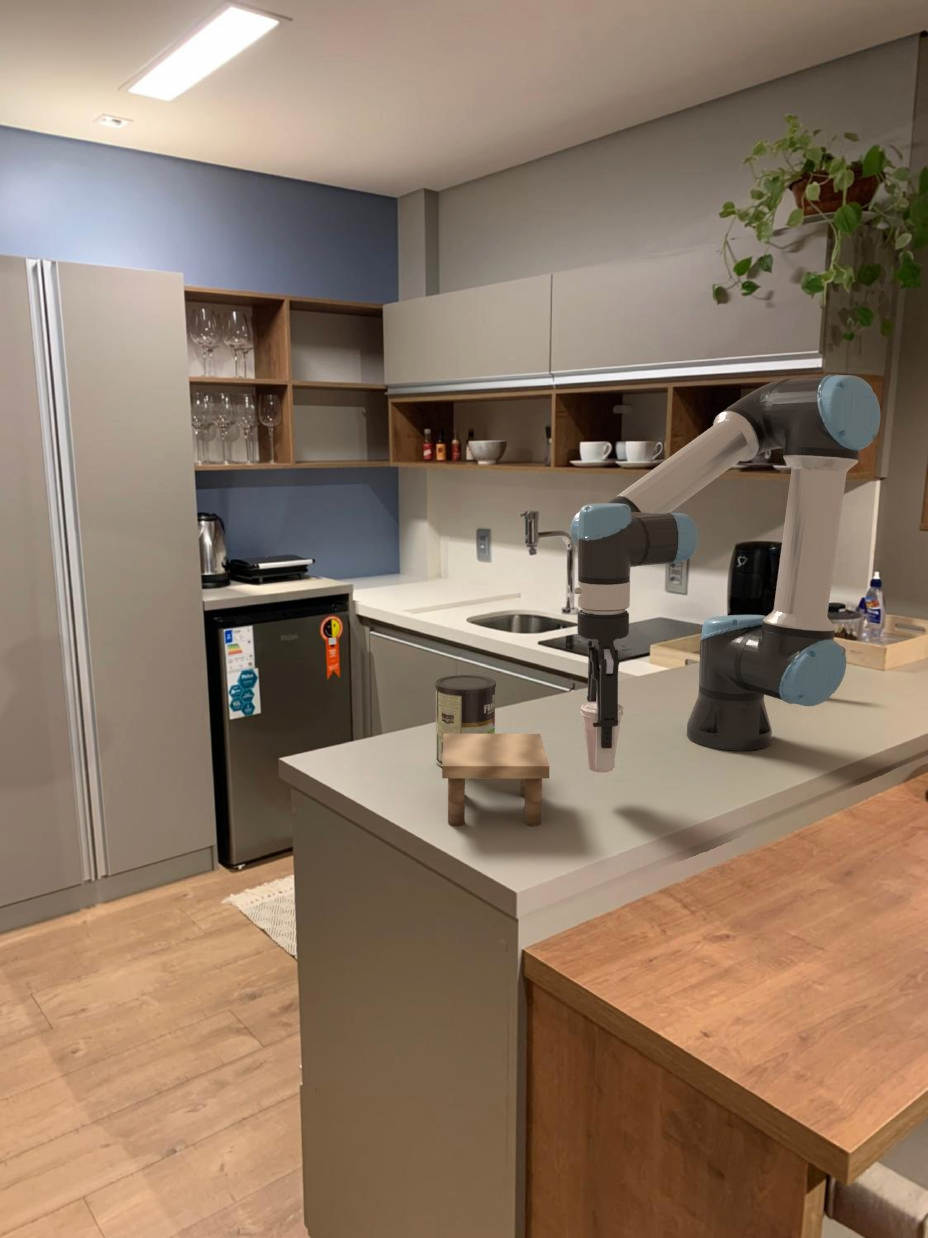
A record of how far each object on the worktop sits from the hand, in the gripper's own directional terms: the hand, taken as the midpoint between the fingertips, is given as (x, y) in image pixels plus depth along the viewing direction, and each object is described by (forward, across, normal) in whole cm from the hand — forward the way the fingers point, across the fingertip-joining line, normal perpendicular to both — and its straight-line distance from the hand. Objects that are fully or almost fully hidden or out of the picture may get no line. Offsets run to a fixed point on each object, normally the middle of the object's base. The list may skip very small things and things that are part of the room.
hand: (601, 758), depth 142 cm
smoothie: (+2, 0, 0) cm, 2 cm away
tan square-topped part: (+6, +3, -17) cm, 18 cm away
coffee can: (+7, -18, -21) cm, 28 cm away
